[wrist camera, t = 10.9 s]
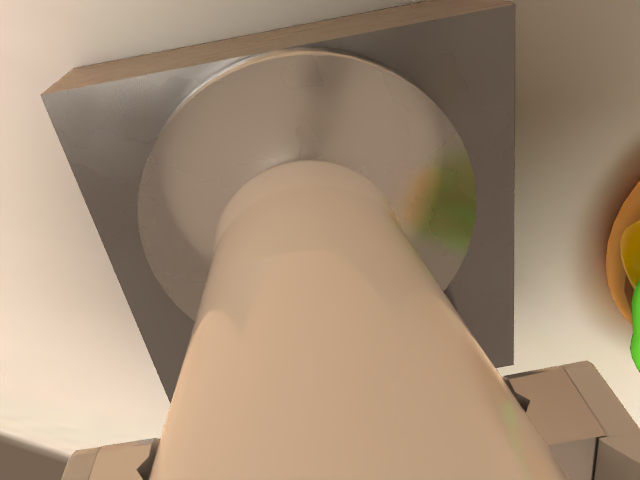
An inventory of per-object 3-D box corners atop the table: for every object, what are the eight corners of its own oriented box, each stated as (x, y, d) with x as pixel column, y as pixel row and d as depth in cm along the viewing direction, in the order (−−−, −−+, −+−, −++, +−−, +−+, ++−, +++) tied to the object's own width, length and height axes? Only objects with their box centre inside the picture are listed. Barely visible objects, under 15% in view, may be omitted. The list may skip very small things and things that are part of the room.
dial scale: (73, 68, 18) (-191, 279, 8) (479, -10, 18) (767, 102, 8) (188, 370, 25) (128, 703, 14) (488, 316, 24) (647, 616, 14)
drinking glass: (254, 82, 15) (245, 1325, 2) (461, 190, 17) (1148, 1108, 4) (154, 280, 17) (-141, 1363, 4) (345, 352, 20) (526, 1224, 7)
